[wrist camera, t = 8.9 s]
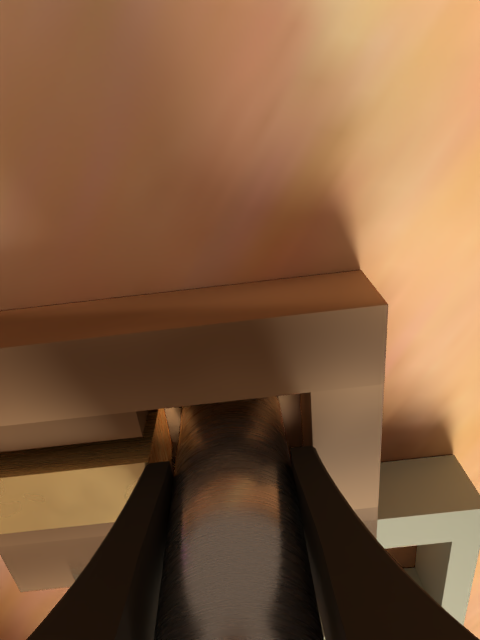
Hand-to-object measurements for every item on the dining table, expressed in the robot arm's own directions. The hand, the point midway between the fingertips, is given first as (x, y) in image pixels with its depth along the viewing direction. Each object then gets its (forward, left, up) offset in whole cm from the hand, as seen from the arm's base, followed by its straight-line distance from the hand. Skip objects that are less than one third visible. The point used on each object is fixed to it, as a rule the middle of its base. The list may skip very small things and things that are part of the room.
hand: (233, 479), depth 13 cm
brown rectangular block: (0, +6, -3) cm, 6 cm away
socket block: (0, +2, -3) cm, 3 cm away
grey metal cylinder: (0, 0, -3) cm, 3 cm away
